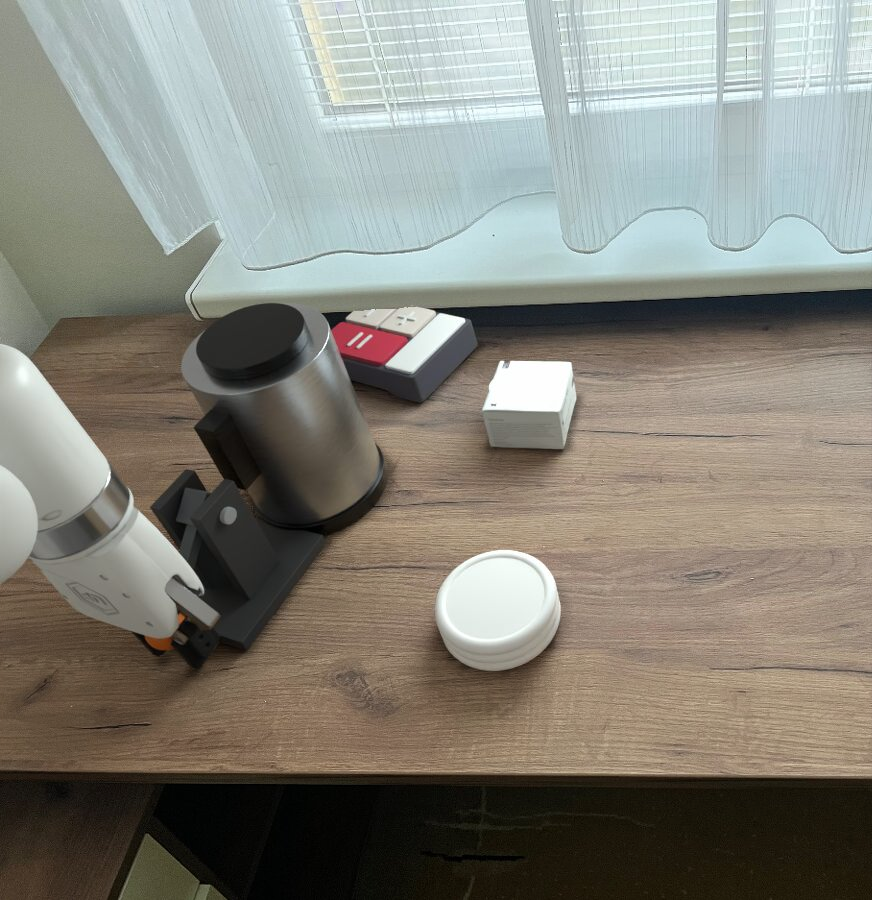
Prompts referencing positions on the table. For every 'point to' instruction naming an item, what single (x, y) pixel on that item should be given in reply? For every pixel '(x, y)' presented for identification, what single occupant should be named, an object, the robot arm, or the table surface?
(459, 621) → the white jar lid
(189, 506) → the switch lever
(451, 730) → the table surface
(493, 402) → the small box
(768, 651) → the table surface
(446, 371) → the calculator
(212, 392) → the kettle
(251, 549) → the switch base
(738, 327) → the table surface
